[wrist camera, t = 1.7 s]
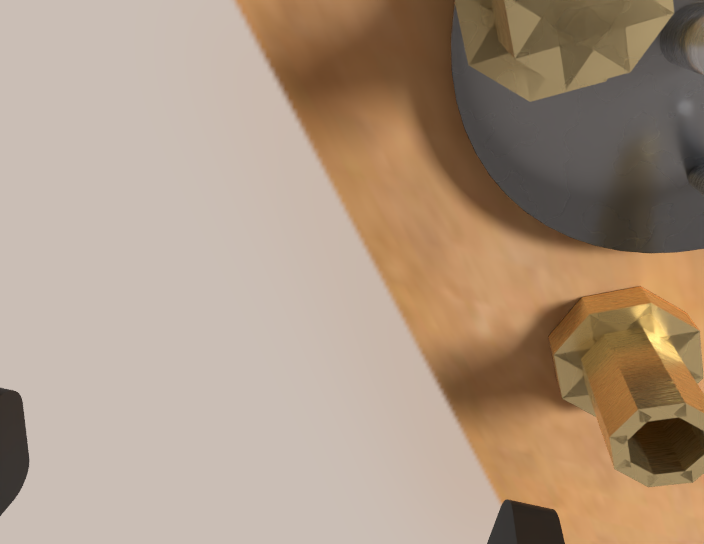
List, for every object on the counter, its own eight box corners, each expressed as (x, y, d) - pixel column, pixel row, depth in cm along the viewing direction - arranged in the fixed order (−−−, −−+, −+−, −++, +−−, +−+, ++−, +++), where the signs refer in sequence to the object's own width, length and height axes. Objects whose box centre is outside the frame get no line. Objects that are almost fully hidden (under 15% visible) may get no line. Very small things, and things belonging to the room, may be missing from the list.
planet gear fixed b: (629, -135, 22) (716, -191, 15) (648, 60, 24) (729, 91, 17) (439, -68, 23) (437, -90, 16) (477, 107, 26) (488, 152, 19)
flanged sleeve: (683, 278, 30) (754, 366, 23) (693, 388, 33) (759, 497, 26) (542, 304, 32) (569, 394, 25) (562, 407, 34) (591, 513, 28)
